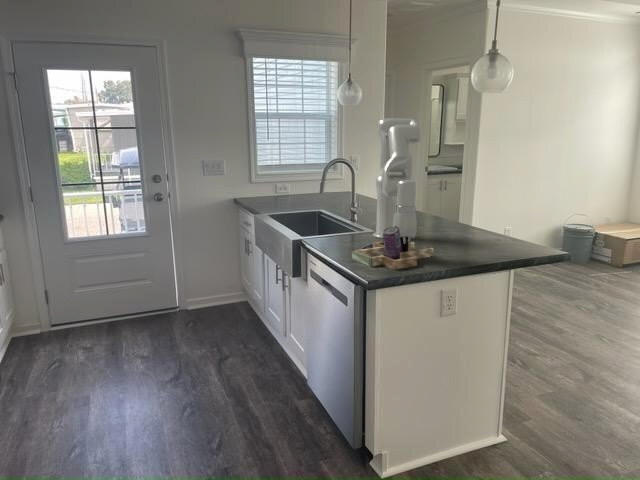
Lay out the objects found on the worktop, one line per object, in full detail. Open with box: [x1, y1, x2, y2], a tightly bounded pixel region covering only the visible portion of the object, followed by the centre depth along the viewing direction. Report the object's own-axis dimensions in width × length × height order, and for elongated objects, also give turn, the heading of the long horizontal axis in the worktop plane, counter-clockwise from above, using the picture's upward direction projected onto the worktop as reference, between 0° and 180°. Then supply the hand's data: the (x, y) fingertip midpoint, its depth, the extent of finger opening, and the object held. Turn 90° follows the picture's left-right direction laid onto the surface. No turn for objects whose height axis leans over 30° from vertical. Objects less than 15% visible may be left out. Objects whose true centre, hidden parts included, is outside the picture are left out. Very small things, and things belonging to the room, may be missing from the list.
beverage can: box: [382, 227, 402, 259], centre depth 201 cm, size 7×7×12 cm
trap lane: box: [351, 241, 435, 270], centre depth 204 cm, size 33×29×4 cm
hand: (404, 252), depth 205 cm, fingers closed
